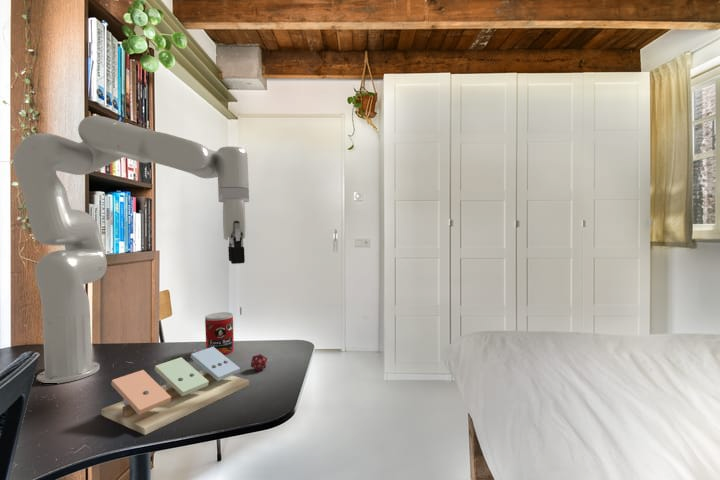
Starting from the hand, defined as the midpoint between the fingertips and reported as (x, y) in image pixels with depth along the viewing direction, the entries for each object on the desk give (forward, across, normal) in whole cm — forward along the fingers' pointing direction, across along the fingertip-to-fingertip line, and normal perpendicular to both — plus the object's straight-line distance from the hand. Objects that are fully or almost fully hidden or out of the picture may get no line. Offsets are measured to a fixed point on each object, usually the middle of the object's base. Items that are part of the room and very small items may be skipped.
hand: (236, 262), depth 98 cm
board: (+27, +15, -13) cm, 34 cm away
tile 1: (+23, +20, -20) cm, 37 cm away
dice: (+28, +5, +4) cm, 28 cm away
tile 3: (+23, +10, -6) cm, 26 cm away
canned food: (+28, -15, -4) cm, 32 cm away
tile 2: (+23, +15, -13) cm, 31 cm away
